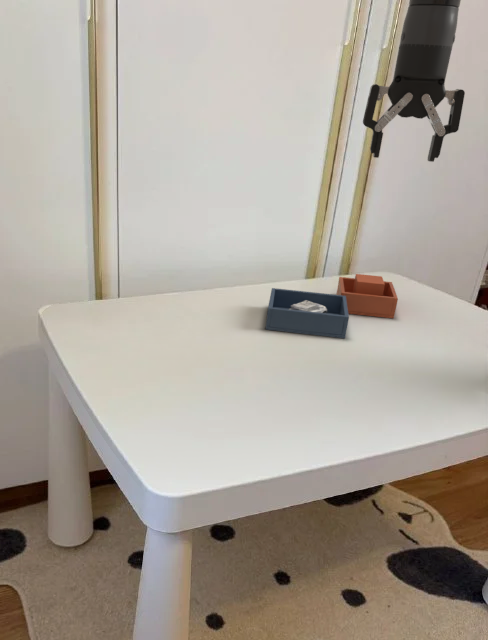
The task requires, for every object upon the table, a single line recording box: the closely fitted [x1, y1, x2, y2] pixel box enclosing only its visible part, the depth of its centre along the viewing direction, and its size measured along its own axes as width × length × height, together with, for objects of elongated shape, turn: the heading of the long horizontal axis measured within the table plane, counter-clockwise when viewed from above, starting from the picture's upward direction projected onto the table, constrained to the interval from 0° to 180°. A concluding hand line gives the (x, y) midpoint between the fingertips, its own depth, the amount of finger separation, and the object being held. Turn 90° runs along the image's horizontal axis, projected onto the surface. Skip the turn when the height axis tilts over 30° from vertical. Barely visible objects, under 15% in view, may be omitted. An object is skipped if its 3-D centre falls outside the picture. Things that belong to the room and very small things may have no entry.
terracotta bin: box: [335, 276, 399, 319], centre depth 109 cm, size 9×9×4 cm
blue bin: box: [265, 287, 350, 339], centre depth 101 cm, size 12×10×4 cm
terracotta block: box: [352, 273, 385, 296], centre depth 109 cm, size 4×4×4 cm
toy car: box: [290, 300, 327, 313], centre depth 101 cm, size 4×8×3 cm, turn 133°
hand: (402, 159), depth 101 cm, fingers open, 8 cm apart
